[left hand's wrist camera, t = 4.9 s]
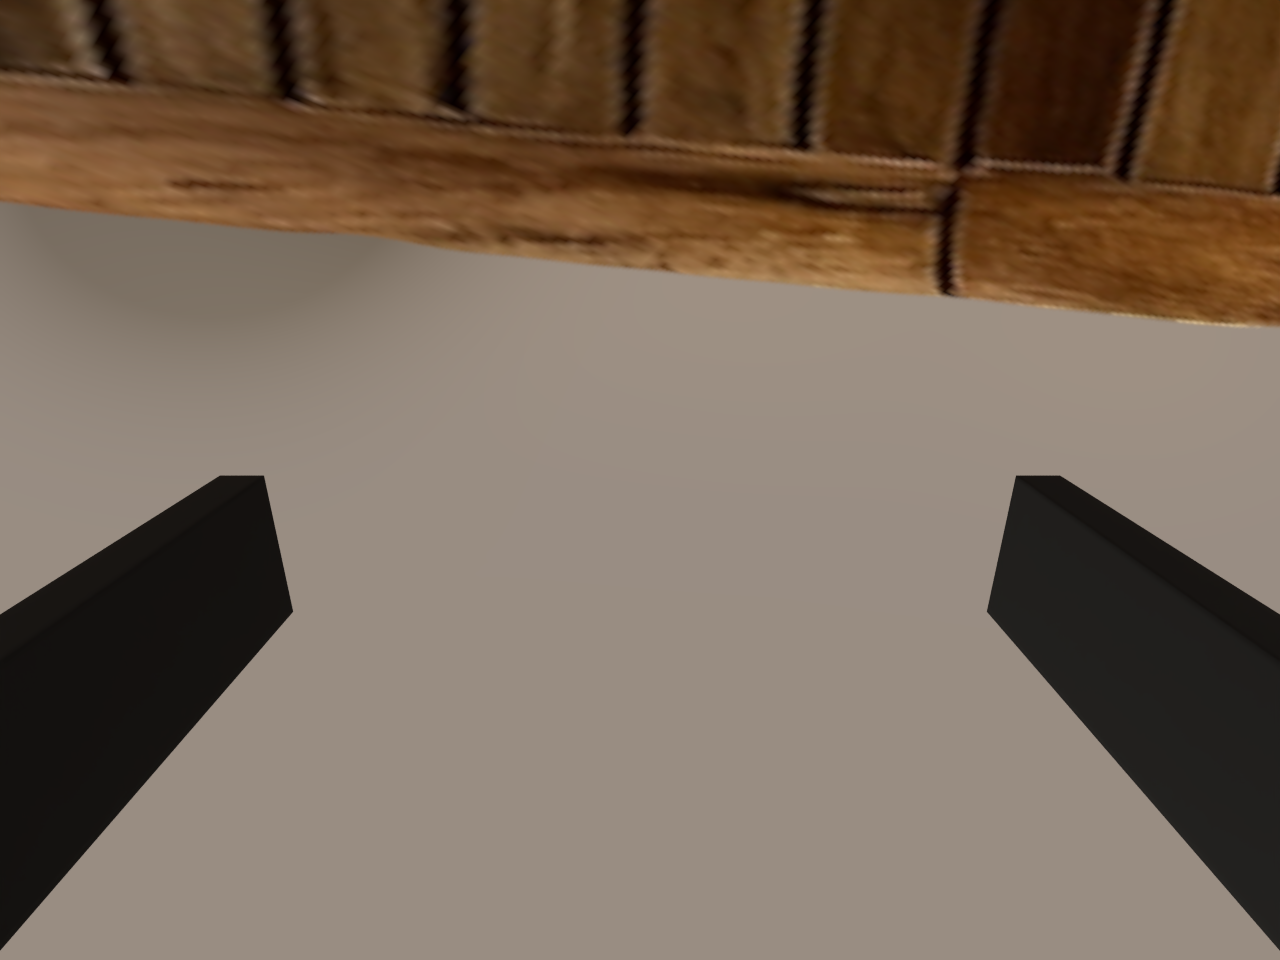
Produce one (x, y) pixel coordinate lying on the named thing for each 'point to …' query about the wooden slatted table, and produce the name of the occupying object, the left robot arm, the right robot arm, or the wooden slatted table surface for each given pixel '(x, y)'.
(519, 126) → the wooden slatted table surface
